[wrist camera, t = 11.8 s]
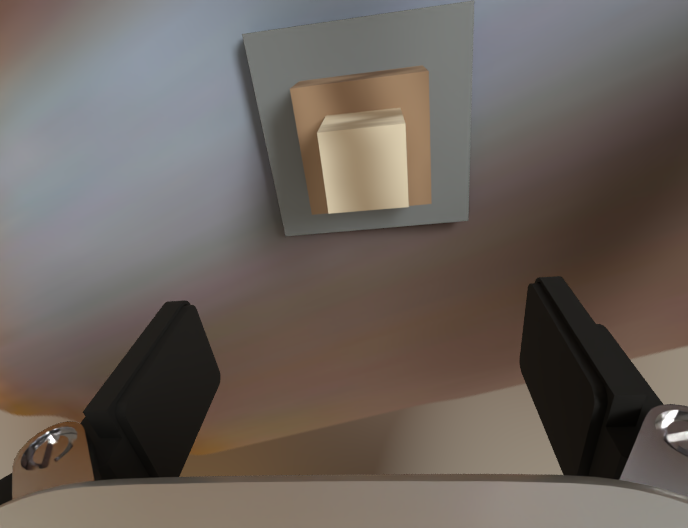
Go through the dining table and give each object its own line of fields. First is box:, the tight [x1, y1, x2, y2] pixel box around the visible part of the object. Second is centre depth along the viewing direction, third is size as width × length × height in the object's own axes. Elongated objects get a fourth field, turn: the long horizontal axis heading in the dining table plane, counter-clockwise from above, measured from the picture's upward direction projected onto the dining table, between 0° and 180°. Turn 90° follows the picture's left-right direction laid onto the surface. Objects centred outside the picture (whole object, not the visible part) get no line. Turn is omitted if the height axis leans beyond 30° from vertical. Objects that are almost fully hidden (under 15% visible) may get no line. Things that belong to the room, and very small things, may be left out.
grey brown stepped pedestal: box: [242, 1, 474, 236], centre depth 31 cm, size 16×16×6 cm
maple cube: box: [317, 108, 409, 214], centre depth 27 cm, size 5×5×5 cm
